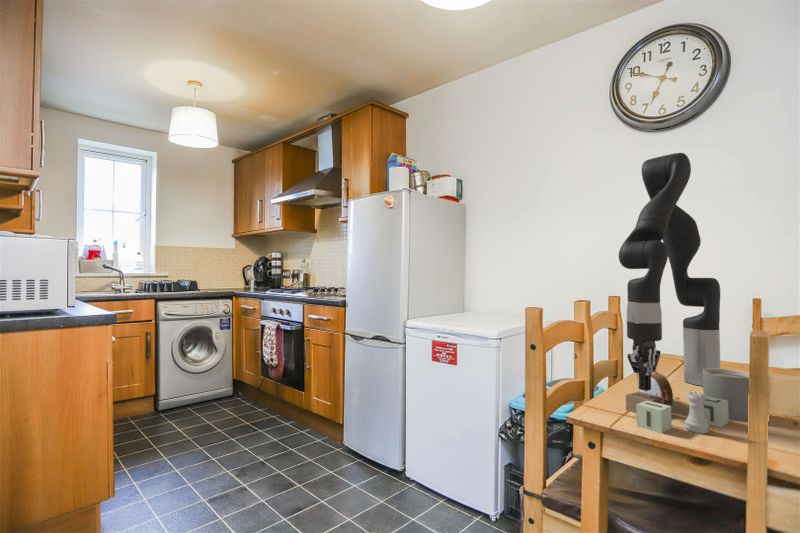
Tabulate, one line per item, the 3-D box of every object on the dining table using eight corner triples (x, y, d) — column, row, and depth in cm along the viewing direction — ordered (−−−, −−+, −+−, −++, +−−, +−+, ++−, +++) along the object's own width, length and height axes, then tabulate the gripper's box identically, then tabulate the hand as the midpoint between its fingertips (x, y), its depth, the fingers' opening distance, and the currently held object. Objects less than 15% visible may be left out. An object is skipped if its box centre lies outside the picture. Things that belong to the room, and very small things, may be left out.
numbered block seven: (702, 416, 96) (702, 395, 96) (728, 422, 92) (728, 400, 92) (694, 420, 93) (693, 398, 93) (720, 427, 89) (720, 404, 89)
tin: (674, 413, 99) (673, 378, 99) (660, 412, 99) (660, 378, 99) (647, 395, 113) (646, 365, 114) (635, 394, 114) (634, 365, 114)
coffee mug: (756, 424, 91) (754, 380, 91) (701, 414, 97) (700, 373, 98) (756, 409, 101) (755, 369, 101) (707, 401, 107) (706, 364, 108)
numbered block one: (647, 422, 92) (646, 399, 93) (671, 428, 88) (671, 405, 88) (636, 426, 90) (636, 403, 90) (661, 434, 85) (660, 410, 86)
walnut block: (639, 407, 104) (639, 391, 104) (664, 413, 98) (664, 397, 98) (626, 410, 101) (625, 394, 101) (650, 418, 95) (650, 401, 96)
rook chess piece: (679, 427, 89) (678, 390, 89) (697, 426, 90) (697, 390, 90) (695, 434, 85) (694, 396, 85) (715, 434, 85) (714, 396, 85)
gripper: (640, 317, 107) (641, 382, 107) (615, 320, 100) (616, 390, 99) (672, 320, 101) (673, 389, 100) (647, 323, 93) (649, 398, 93)
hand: (644, 389), depth 100 cm, fingers closed
